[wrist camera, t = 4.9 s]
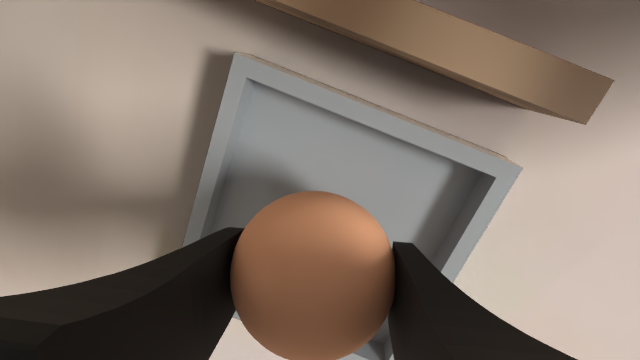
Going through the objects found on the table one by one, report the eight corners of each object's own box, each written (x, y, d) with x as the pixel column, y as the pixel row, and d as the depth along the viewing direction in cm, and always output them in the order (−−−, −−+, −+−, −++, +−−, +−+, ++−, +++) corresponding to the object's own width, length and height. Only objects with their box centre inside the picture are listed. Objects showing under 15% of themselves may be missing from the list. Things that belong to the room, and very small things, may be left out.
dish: (503, 155, 13) (523, 168, 11) (389, 350, 16) (392, 381, 15) (250, 54, 13) (234, 52, 11) (188, 270, 16) (169, 292, 15)
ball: (390, 171, 12) (415, 238, 7) (385, 293, 14) (403, 414, 9) (250, 170, 13) (188, 233, 8) (260, 289, 14) (213, 401, 9)
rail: (546, 76, 12) (614, 80, 9) (527, 109, 12) (585, 124, 9) (170, -74, 12) (97, -127, 9) (163, -37, 12) (91, -74, 9)
